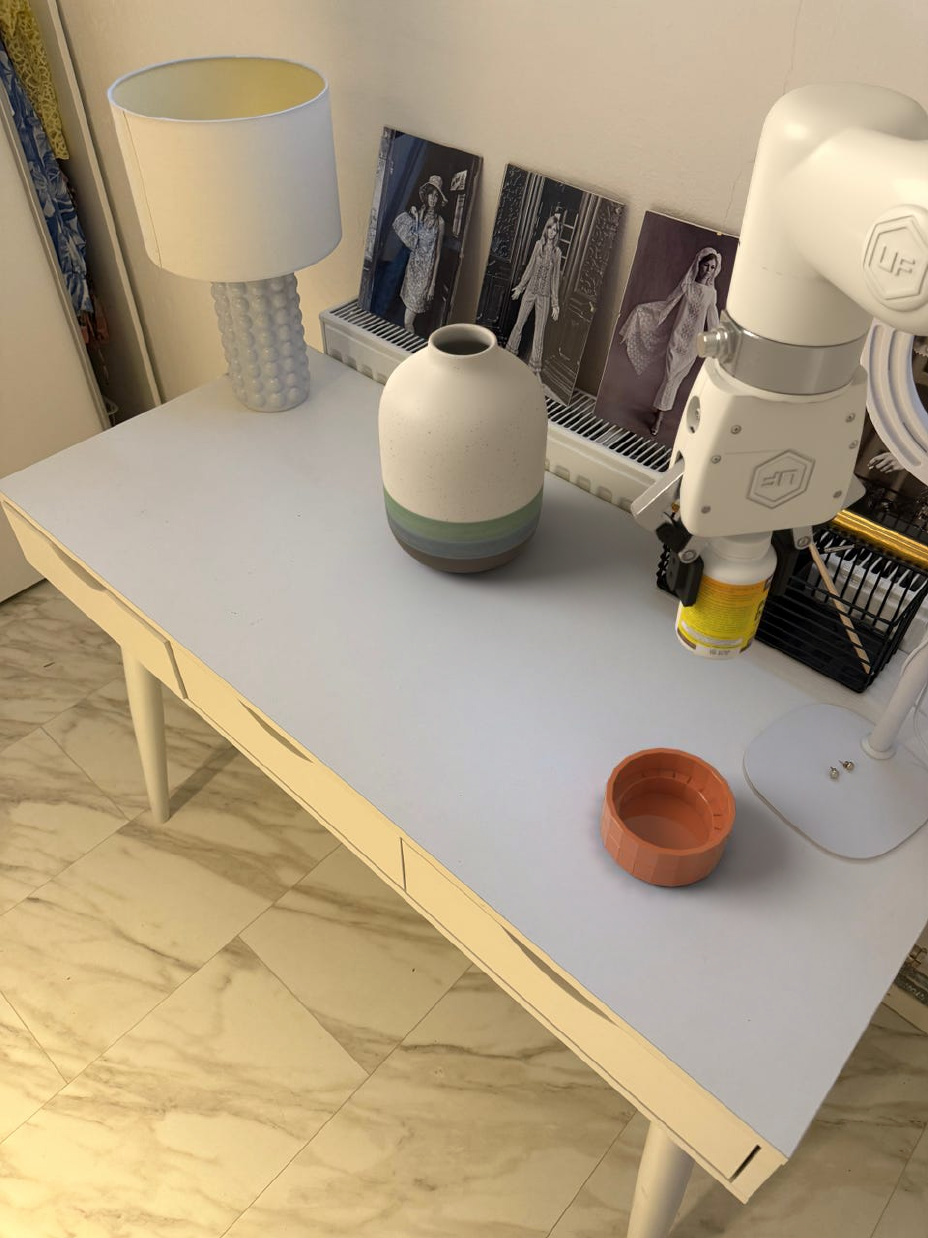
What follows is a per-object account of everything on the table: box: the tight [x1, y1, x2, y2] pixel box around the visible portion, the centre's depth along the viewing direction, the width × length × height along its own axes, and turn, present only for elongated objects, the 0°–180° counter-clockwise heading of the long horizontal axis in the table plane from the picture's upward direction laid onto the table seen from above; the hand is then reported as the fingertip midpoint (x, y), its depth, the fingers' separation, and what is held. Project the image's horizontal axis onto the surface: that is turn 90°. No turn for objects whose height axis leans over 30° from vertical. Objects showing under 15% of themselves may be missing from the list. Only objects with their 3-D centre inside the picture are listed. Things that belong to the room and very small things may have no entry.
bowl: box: [599, 747, 737, 888], centre depth 75 cm, size 10×10×5 cm
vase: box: [377, 323, 549, 574], centre depth 95 cm, size 17×17×24 cm
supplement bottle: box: [674, 531, 777, 661], centre depth 63 cm, size 6×6×10 cm
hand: (726, 585), depth 64 cm, fingers closed on supplement bottle, 5 cm apart
